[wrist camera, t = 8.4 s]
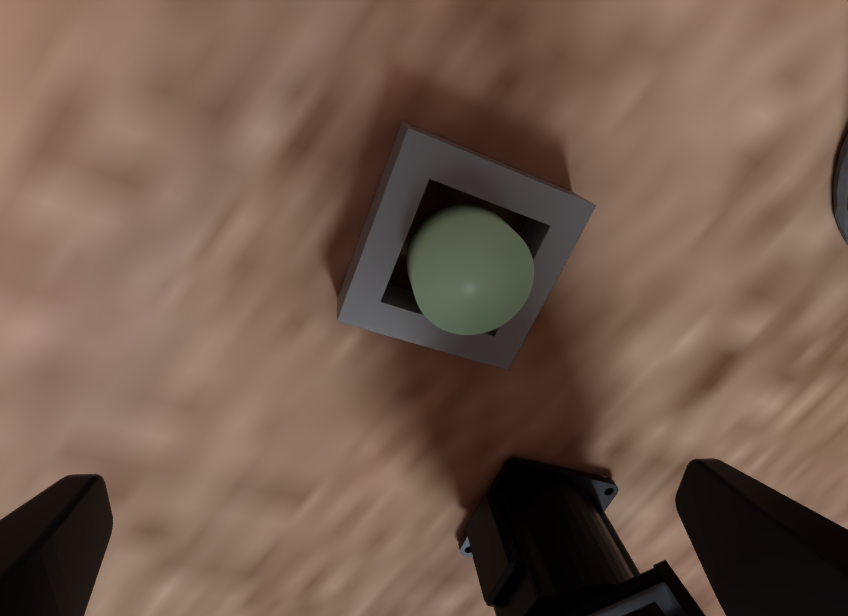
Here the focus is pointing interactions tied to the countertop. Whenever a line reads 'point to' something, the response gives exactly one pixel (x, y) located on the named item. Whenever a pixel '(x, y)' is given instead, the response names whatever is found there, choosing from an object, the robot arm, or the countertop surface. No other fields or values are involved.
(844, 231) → the canister
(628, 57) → the countertop surface
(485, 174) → the button housing
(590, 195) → the countertop surface
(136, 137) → the countertop surface
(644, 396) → the countertop surface
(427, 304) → the button
